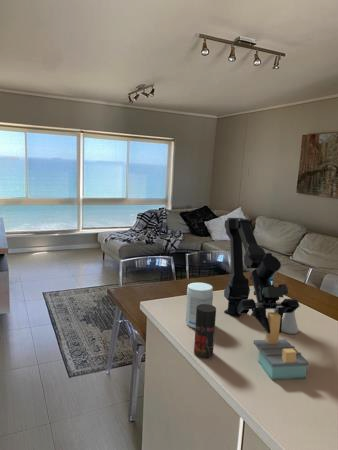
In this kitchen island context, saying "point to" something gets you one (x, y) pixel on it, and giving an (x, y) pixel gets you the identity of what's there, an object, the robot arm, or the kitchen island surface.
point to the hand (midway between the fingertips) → (274, 332)
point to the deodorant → (204, 331)
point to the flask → (289, 324)
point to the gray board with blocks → (278, 346)
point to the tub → (282, 370)
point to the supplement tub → (197, 300)
